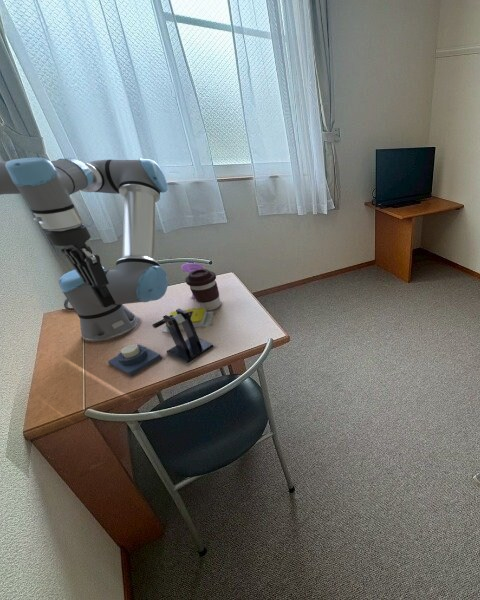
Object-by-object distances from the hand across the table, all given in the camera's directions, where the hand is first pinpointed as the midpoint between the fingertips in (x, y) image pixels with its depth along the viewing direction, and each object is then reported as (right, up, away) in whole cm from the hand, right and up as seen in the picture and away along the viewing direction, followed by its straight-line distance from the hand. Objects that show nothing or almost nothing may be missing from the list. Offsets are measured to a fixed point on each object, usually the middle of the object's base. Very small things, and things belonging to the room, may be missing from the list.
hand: (108, 304), depth 92 cm
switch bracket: (+16, -16, +12) cm, 25 cm away
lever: (+13, -6, +8) cm, 16 cm away
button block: (+2, -18, +7) cm, 20 cm away
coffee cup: (+9, -1, +35) cm, 36 cm away
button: (+2, -15, +5) cm, 16 cm away
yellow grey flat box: (+7, -7, +25) cm, 27 cm away
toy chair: (+1, +4, +44) cm, 44 cm away
